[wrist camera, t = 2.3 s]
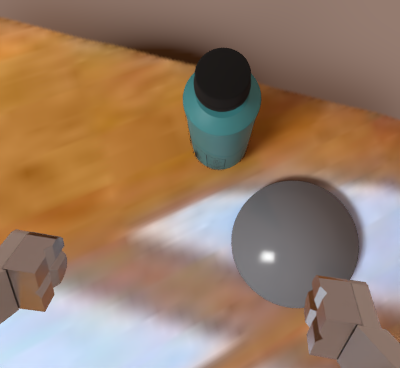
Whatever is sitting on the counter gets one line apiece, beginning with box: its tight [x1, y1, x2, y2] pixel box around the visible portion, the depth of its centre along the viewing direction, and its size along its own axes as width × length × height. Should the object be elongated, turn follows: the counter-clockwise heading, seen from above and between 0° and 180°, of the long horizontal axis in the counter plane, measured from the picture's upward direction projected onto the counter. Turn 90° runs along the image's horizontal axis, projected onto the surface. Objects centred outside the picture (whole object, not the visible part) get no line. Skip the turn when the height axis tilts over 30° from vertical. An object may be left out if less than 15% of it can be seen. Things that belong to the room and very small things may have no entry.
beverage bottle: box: [183, 48, 261, 170], centre depth 35 cm, size 6×7×20 cm
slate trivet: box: [231, 181, 359, 308], centre depth 42 cm, size 14×14×1 cm
